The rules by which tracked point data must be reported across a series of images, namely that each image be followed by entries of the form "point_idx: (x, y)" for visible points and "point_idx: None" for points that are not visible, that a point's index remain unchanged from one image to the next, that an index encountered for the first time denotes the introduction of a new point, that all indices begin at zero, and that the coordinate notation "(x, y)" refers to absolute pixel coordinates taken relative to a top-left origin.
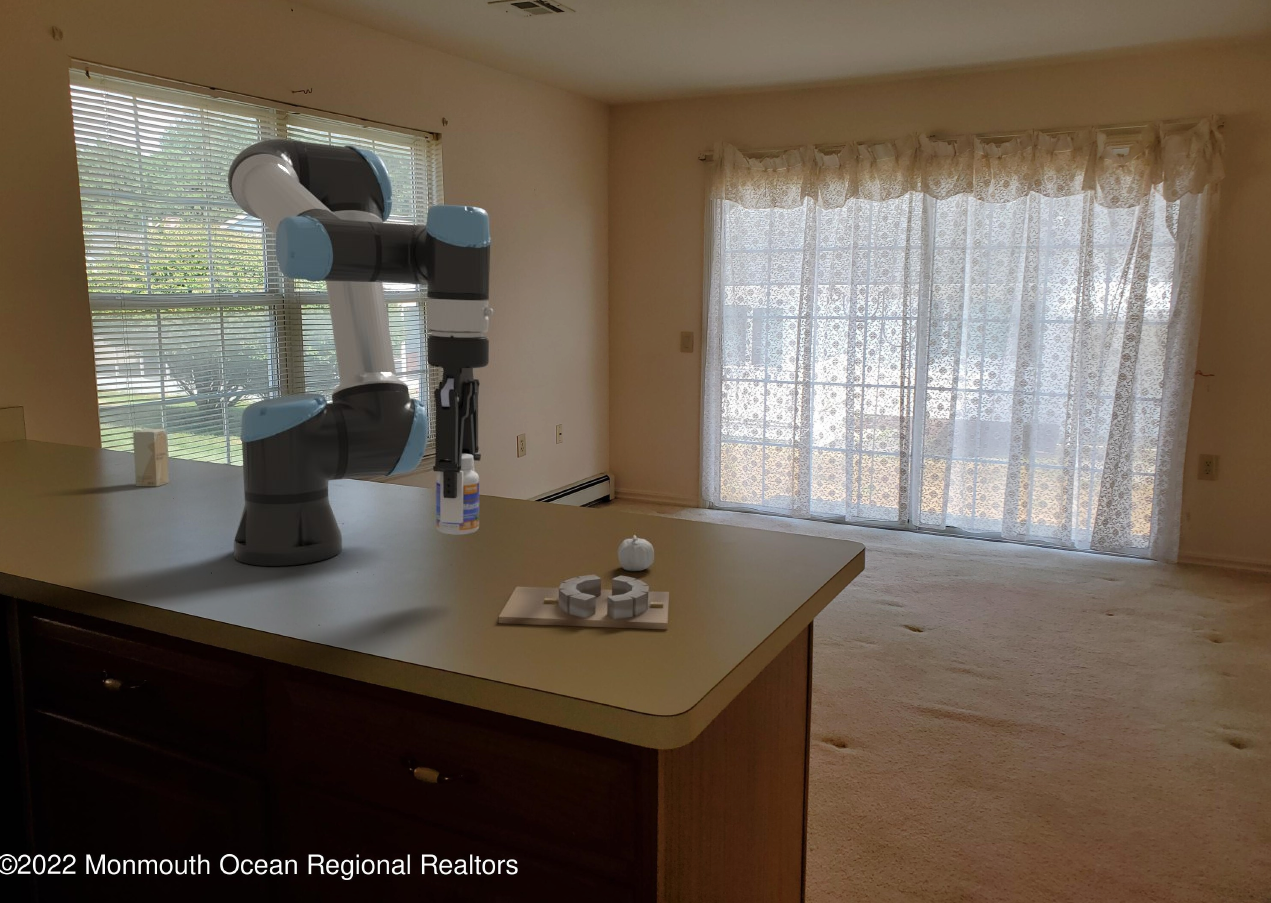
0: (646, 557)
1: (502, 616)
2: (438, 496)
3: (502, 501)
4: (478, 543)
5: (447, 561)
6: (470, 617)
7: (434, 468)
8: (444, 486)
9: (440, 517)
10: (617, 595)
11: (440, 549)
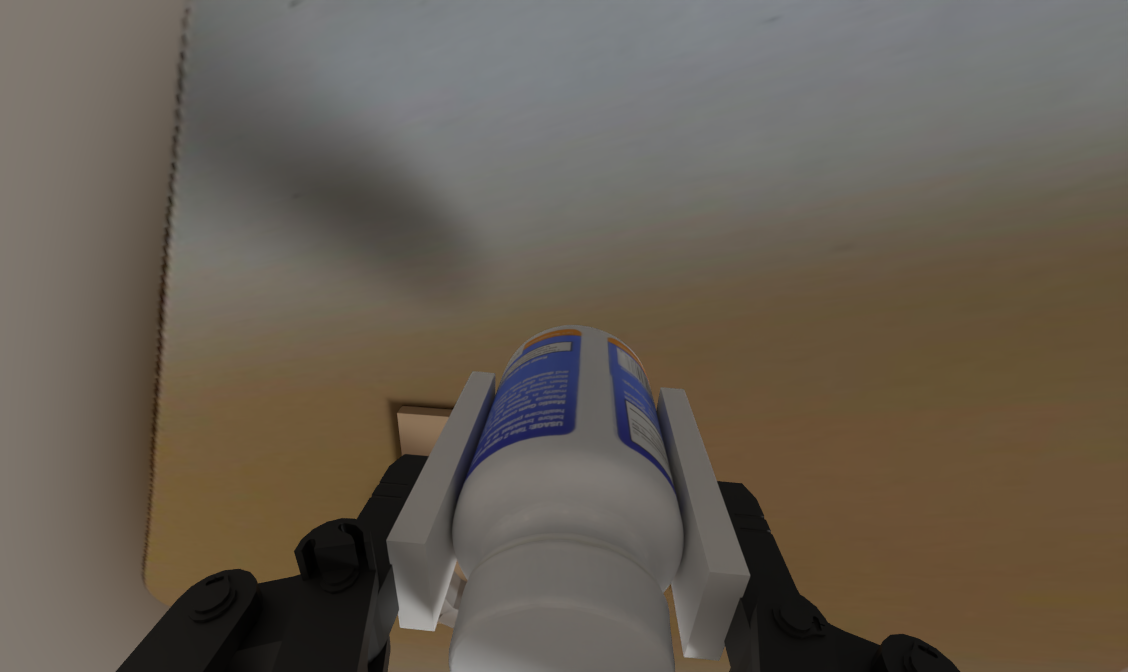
0: None
1: (399, 418)
2: (508, 408)
3: None
4: (1073, 287)
5: (882, 230)
6: (425, 353)
7: (307, 542)
8: (372, 499)
9: (467, 381)
10: (445, 600)
11: (1038, 182)
